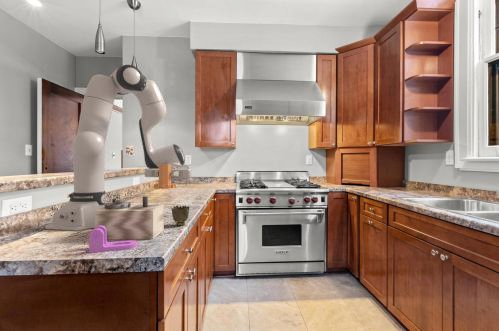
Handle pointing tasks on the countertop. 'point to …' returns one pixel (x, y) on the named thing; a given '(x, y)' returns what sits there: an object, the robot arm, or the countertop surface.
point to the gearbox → (131, 220)
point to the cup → (180, 214)
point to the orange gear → (164, 177)
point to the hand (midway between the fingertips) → (164, 173)
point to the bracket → (101, 245)
